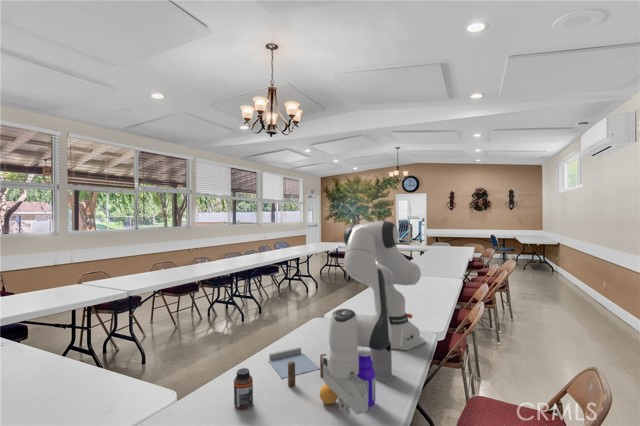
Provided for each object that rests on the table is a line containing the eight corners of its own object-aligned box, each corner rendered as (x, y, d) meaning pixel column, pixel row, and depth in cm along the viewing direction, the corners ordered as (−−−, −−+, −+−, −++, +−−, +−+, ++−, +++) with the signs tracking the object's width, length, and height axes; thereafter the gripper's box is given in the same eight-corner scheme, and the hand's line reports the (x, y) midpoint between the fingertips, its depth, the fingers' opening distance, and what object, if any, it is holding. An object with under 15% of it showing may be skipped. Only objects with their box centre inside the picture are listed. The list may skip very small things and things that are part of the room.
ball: (332, 395, 112) (332, 378, 112) (341, 405, 107) (341, 386, 107) (316, 400, 109) (316, 382, 109) (325, 410, 104) (324, 391, 104)
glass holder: (367, 379, 123) (366, 338, 123) (375, 362, 136) (374, 326, 136) (390, 383, 120) (390, 342, 120) (396, 366, 133) (396, 328, 133)
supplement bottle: (235, 400, 110) (235, 366, 110) (254, 399, 110) (253, 365, 110) (232, 411, 104) (232, 375, 104) (251, 410, 105) (251, 374, 104)
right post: (325, 374, 127) (325, 353, 127) (328, 377, 125) (328, 356, 125) (319, 375, 126) (318, 354, 126) (322, 378, 123) (322, 357, 123)
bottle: (378, 403, 107) (378, 350, 107) (369, 411, 103) (368, 355, 103) (360, 395, 112) (359, 344, 112) (350, 402, 108) (349, 349, 108)
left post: (293, 382, 121) (293, 360, 121) (296, 385, 119) (296, 363, 119) (287, 384, 120) (286, 362, 120) (289, 387, 118) (289, 365, 117)
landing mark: (303, 353, 145) (303, 353, 145) (320, 368, 131) (320, 368, 131) (268, 361, 138) (268, 361, 138) (282, 378, 124) (282, 378, 124)
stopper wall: (299, 352, 147) (299, 347, 147) (301, 353, 145) (301, 348, 145) (269, 359, 140) (269, 353, 140) (270, 360, 139) (270, 354, 139)
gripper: (373, 378, 91) (374, 428, 91) (336, 351, 109) (336, 393, 109) (354, 384, 88) (354, 436, 88) (319, 355, 106) (319, 398, 107)
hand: (344, 412), depth 99 cm, fingers closed
